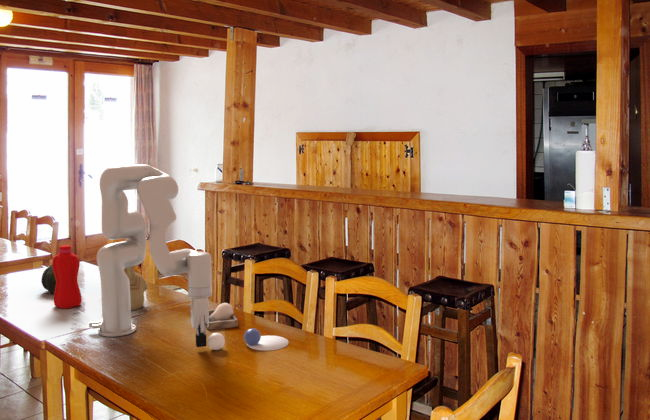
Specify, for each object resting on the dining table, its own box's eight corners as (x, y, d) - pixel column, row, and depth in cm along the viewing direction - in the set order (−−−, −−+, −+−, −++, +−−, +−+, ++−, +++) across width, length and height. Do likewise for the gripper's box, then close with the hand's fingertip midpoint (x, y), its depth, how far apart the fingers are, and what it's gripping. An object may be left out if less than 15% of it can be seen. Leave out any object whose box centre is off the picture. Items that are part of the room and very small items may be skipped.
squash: (30, 284, 252) (54, 257, 254) (39, 277, 267) (62, 252, 268) (58, 304, 255) (81, 278, 257) (65, 296, 270) (87, 271, 271)
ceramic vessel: (141, 298, 251) (139, 240, 248) (154, 310, 234) (151, 248, 231) (99, 304, 242) (96, 244, 239) (109, 317, 226) (106, 252, 222)
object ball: (255, 328, 193) (265, 339, 195) (251, 322, 198) (262, 334, 200) (242, 339, 192) (253, 351, 194) (239, 334, 197) (249, 345, 199)
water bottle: (69, 300, 247) (66, 242, 244) (84, 305, 241) (82, 245, 238) (48, 305, 240) (45, 245, 237) (63, 310, 234) (60, 248, 230)
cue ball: (221, 334, 189) (227, 348, 190) (220, 327, 194) (226, 341, 195) (205, 341, 188) (211, 355, 189) (204, 333, 193) (210, 347, 195)
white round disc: (251, 352, 189) (251, 352, 189) (243, 338, 202) (243, 337, 202) (293, 347, 194) (293, 347, 194) (282, 334, 207) (282, 333, 207)
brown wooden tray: (207, 329, 211) (207, 323, 211) (201, 316, 226) (201, 310, 226) (237, 326, 215) (237, 320, 214) (230, 314, 230) (230, 307, 229)
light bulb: (208, 313, 214) (232, 299, 220) (200, 312, 219) (224, 299, 226) (215, 329, 215) (239, 315, 221) (206, 328, 220) (230, 315, 227)
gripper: (185, 286, 194) (187, 339, 197) (190, 297, 180) (191, 355, 183) (208, 284, 197) (209, 337, 199) (215, 295, 183) (216, 352, 185)
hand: (201, 345), depth 191 cm, fingers closed
